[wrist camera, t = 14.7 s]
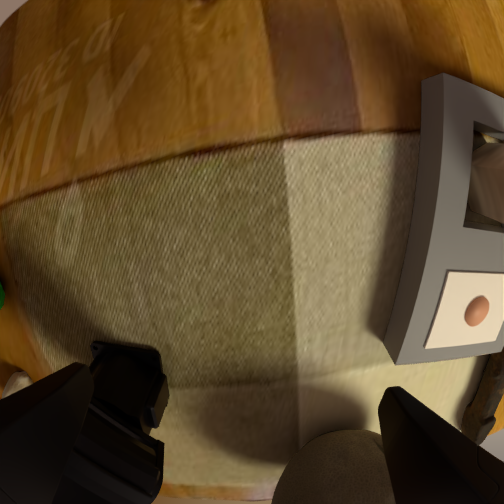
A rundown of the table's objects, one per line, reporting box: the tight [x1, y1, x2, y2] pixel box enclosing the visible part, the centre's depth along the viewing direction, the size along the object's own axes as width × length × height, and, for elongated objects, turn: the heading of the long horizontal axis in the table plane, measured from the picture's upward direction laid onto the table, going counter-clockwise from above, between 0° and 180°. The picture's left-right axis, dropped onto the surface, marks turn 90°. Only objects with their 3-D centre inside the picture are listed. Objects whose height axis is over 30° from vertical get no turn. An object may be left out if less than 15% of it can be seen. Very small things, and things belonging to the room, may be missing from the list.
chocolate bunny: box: [2, 371, 33, 398], centre depth 22 cm, size 6×8×10 cm
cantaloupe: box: [271, 430, 396, 504], centre depth 20 cm, size 14×14×15 cm
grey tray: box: [383, 73, 504, 365], centre depth 17 cm, size 12×20×3 cm, turn 177°
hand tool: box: [461, 347, 504, 445], centre depth 22 cm, size 19×4×5 cm, turn 5°
